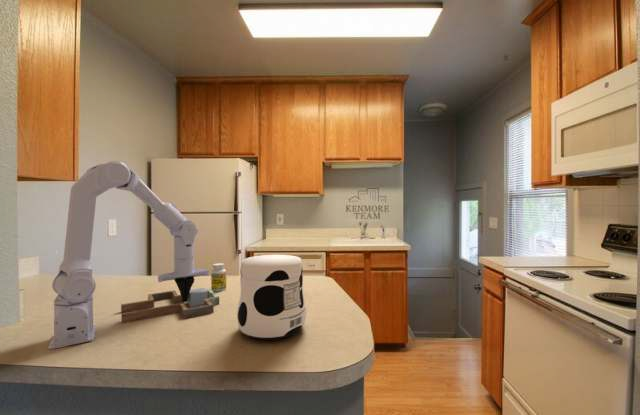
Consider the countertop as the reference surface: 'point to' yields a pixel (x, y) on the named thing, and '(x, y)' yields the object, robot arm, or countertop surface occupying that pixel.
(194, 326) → the countertop surface
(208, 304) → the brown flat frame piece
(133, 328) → the countertop surface
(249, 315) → the milk container
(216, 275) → the supplement bottle
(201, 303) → the block
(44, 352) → the countertop surface
